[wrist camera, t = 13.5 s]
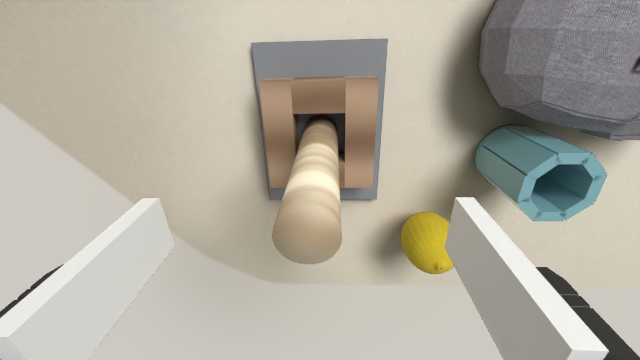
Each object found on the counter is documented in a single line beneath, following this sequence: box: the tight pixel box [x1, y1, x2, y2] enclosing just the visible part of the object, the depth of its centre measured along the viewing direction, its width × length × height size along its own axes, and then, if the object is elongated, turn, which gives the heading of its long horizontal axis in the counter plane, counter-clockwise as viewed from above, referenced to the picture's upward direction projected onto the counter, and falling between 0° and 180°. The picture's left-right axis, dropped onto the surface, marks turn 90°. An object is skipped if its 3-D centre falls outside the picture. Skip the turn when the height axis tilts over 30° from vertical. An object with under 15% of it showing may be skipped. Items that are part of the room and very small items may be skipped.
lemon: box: [401, 212, 454, 274], centre depth 30 cm, size 6×6×8 cm
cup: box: [475, 125, 607, 221], centre depth 26 cm, size 6×6×8 cm
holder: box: [258, 76, 379, 188], centre depth 27 cm, size 10×10×3 cm
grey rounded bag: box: [479, 0, 640, 141], centre depth 21 cm, size 15×8×20 cm
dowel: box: [272, 114, 342, 264], centre depth 21 cm, size 3×3×17 cm
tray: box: [251, 39, 388, 200], centre depth 28 cm, size 16×12×1 cm
